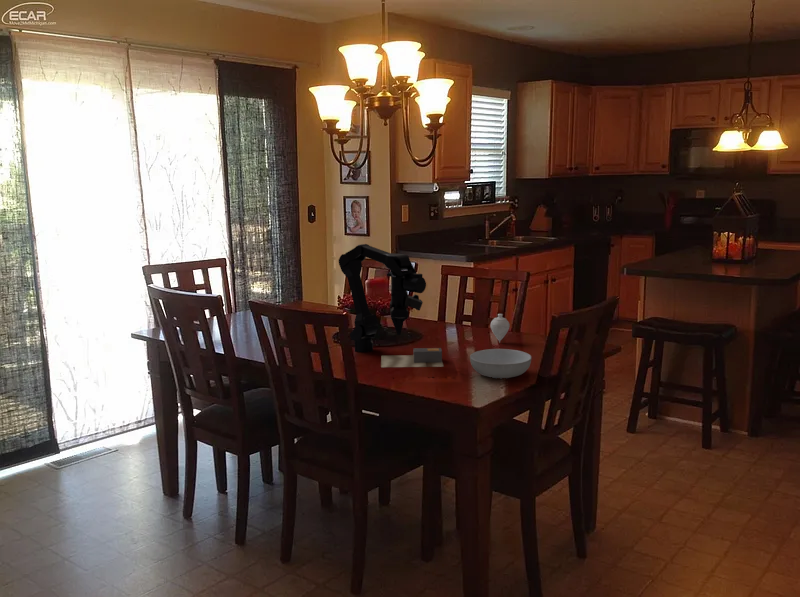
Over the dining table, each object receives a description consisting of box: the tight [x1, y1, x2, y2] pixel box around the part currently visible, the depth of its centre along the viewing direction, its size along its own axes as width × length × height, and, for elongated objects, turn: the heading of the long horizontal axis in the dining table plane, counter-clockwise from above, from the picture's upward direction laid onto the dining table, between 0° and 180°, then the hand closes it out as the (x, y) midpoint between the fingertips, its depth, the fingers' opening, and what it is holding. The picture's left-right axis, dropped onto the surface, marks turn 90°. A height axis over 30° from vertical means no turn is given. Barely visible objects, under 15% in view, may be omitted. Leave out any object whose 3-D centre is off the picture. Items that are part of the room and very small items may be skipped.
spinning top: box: [490, 313, 511, 344], centre depth 294 cm, size 8×8×12 cm
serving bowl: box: [469, 348, 532, 380], centre depth 249 cm, size 21×21×7 cm
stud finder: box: [413, 347, 443, 363], centre depth 262 cm, size 10×5×4 cm, turn 91°
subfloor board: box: [380, 354, 445, 368], centre depth 262 cm, size 22×16×2 cm
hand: (398, 331), depth 264 cm, fingers open, 9 cm apart
